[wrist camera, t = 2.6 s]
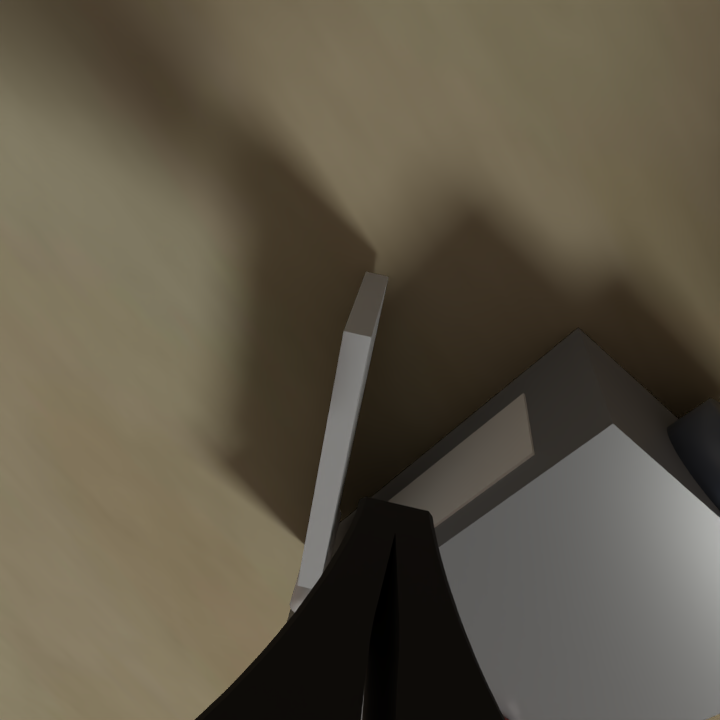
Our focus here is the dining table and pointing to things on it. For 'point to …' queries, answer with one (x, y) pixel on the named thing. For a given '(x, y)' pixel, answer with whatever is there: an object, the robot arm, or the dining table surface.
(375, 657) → the robot arm
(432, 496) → the camera body
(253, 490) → the dining table surface
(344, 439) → the side door
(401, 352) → the dining table surface
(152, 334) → the dining table surface
